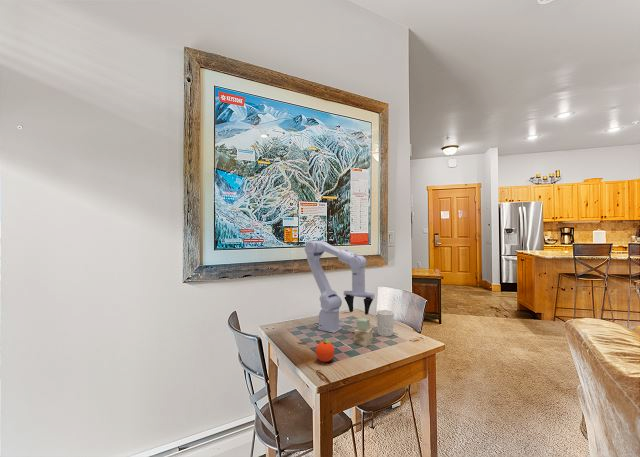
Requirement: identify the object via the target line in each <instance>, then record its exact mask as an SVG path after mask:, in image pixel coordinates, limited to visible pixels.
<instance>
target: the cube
mask: <svg viewBox="0 0 640 457" xmlns="http://www.w3.org/2000/svg"><path fill="white" fill-rule="evenodd" d="M370 323H371V322H370V318H366V317H365V318H364V317H360V318H358V319H356V328H357V330H362V331H367V330H368V329H370V328H371V326H370V325H371V324H370Z"/></svg>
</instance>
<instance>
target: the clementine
mask: <svg viewBox="0 0 640 457" xmlns="http://www.w3.org/2000/svg"><path fill="white" fill-rule="evenodd" d="M315 356H316V357H317V359H318V360H319V361H320V362H322V363H323V362H324V363H326V362H330V361H331V360H332V359H333V358H334V356H335V347H334V346H333V342H332V341H330V340H325V341H321V342H320V343H318V344H317V345H316V347H315Z"/></svg>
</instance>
